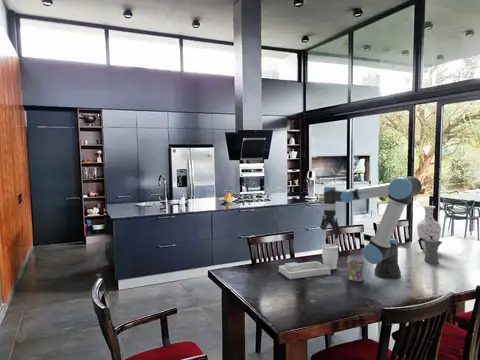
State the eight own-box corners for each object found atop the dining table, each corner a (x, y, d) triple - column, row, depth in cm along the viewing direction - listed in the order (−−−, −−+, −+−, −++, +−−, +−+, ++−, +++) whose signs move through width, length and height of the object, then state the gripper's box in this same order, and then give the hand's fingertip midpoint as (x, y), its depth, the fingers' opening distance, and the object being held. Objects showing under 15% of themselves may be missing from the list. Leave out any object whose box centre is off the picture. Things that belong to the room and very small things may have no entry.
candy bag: (368, 280, 205) (368, 263, 204) (356, 283, 200) (356, 265, 200) (352, 275, 215) (352, 258, 215) (341, 278, 211) (341, 260, 210)
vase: (441, 250, 270) (441, 205, 269) (440, 255, 257) (440, 208, 255) (418, 247, 279) (418, 204, 277) (416, 252, 265) (416, 207, 263)
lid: (301, 266, 215) (301, 265, 215) (289, 267, 212) (289, 266, 212) (295, 263, 222) (295, 262, 222) (284, 264, 219) (284, 263, 219)
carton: (300, 275, 215) (300, 266, 215) (290, 276, 213) (290, 267, 213) (295, 271, 222) (295, 263, 221) (285, 273, 220) (285, 264, 219)
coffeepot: (444, 262, 239) (444, 236, 238) (439, 265, 233) (440, 238, 232) (420, 257, 250) (420, 233, 249) (415, 260, 244) (415, 235, 243)
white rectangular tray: (330, 275, 216) (330, 268, 216) (289, 280, 208) (289, 273, 208) (317, 267, 232) (317, 261, 231) (278, 272, 223) (278, 265, 223)
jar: (338, 270, 225) (338, 247, 224) (322, 269, 227) (322, 247, 226) (337, 265, 235) (337, 244, 235) (322, 265, 237) (321, 243, 237)
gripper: (315, 207, 240) (315, 237, 241) (335, 212, 216) (335, 246, 217) (324, 207, 242) (324, 237, 243) (345, 211, 218) (345, 244, 220)
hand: (329, 241), depth 230 cm, fingers open, 13 cm apart
